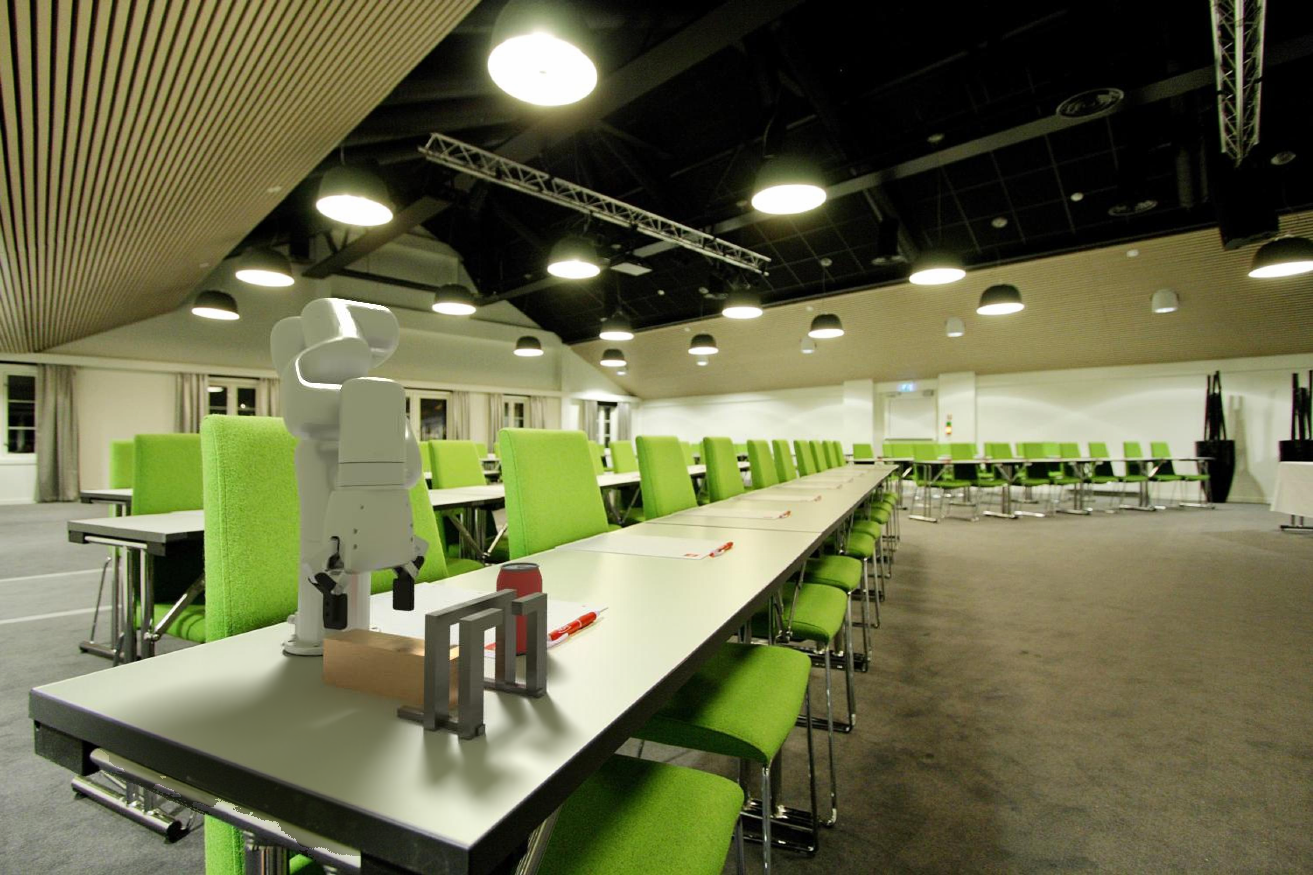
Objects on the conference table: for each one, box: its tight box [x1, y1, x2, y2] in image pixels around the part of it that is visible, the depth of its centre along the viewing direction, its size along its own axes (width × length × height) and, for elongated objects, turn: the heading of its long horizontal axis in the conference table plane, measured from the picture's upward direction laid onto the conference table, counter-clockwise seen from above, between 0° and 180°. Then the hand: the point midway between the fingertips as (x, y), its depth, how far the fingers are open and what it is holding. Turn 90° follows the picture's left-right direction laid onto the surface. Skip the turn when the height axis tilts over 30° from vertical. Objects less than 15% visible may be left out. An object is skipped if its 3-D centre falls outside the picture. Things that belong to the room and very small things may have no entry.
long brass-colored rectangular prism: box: [322, 628, 459, 712], centre depth 69 cm, size 20×4×6 cm, turn 66°
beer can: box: [495, 561, 543, 656], centre depth 84 cm, size 7×7×12 cm
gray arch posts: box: [396, 589, 548, 741], centre depth 65 cm, size 11×13×12 cm
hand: (371, 618), depth 71 cm, fingers open, 9 cm apart
